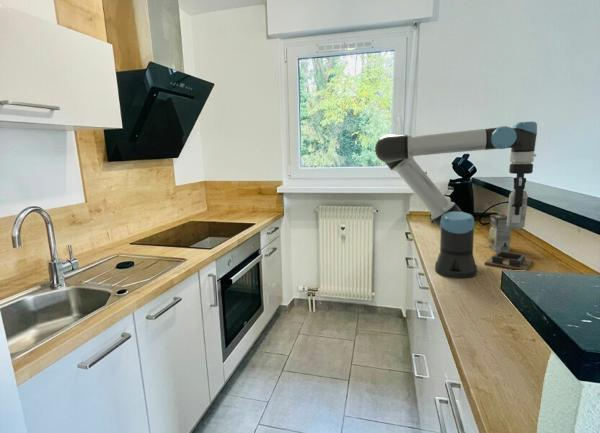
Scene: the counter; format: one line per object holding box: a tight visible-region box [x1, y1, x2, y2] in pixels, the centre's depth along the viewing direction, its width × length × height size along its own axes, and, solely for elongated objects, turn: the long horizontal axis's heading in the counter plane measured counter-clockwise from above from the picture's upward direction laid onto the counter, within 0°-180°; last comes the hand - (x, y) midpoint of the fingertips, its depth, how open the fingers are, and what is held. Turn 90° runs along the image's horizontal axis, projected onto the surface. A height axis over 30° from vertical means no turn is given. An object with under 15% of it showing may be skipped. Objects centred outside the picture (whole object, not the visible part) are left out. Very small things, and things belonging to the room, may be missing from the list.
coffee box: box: [488, 214, 512, 253], centre depth 149 cm, size 9×6×16 cm
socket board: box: [483, 251, 534, 271], centre depth 131 cm, size 14×14×4 cm
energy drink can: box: [506, 190, 529, 230], centre depth 126 cm, size 6×6×15 cm
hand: (515, 220), depth 127 cm, fingers closed on energy drink can, 6 cm apart
